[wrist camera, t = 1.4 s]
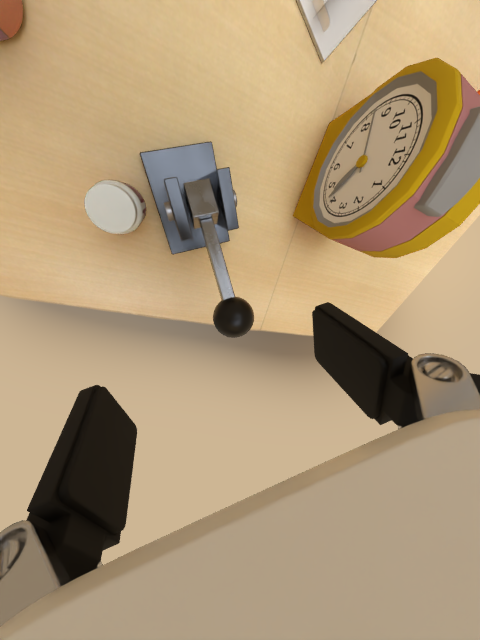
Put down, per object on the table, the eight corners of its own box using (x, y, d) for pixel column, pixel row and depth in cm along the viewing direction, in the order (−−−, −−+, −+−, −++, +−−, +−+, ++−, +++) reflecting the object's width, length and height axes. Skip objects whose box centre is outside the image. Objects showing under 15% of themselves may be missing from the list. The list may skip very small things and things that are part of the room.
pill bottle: (94, 184, 25) (67, 180, 18) (139, 180, 26) (130, 175, 19) (111, 229, 27) (92, 241, 20) (151, 224, 28) (146, 234, 21)
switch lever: (253, 329, 22) (263, 332, 18) (218, 340, 21) (221, 345, 18) (215, 195, 21) (218, 171, 18) (177, 203, 21) (173, 179, 17)
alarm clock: (331, 103, 28) (539, -14, 12) (375, 135, 31) (584, 75, 16) (284, 226, 33) (386, 252, 18) (325, 243, 37) (443, 277, 21)
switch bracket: (227, 239, 32) (259, 261, 21) (171, 252, 31) (175, 283, 20) (210, 143, 26) (241, 106, 15) (140, 154, 25) (121, 122, 14)
